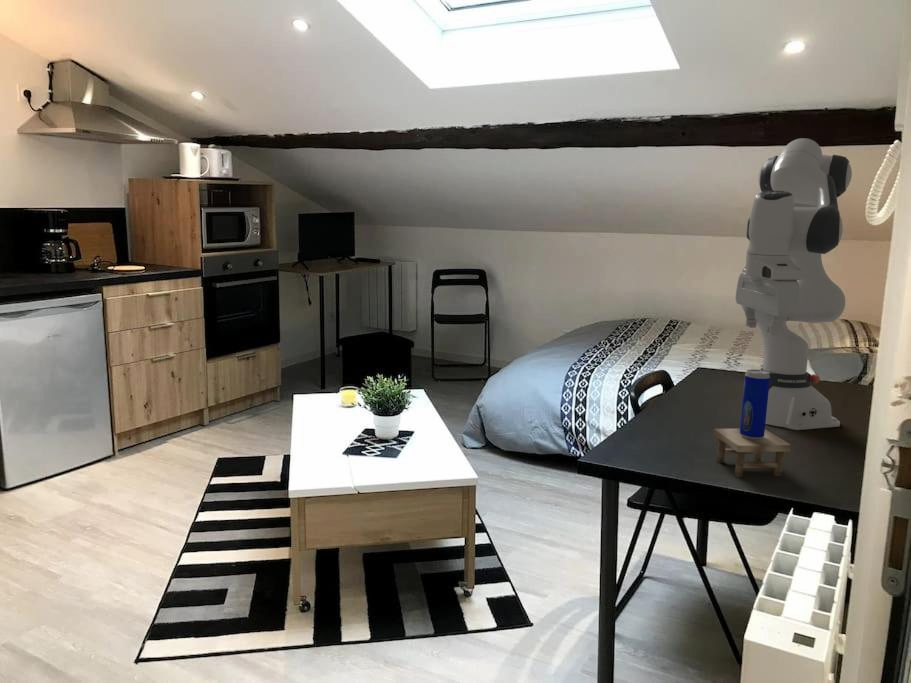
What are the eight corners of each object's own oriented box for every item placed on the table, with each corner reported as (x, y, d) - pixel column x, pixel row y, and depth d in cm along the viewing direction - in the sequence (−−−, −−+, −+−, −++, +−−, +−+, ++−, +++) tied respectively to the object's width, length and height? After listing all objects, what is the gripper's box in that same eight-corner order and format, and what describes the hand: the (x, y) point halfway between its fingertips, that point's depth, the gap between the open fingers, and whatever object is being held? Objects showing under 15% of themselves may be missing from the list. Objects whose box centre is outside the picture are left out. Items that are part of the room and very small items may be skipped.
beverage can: (735, 433, 168) (741, 369, 166) (757, 432, 169) (763, 368, 166) (746, 440, 163) (752, 374, 161) (768, 440, 164) (775, 374, 161)
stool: (760, 458, 174) (763, 428, 173) (787, 477, 162) (791, 444, 161) (711, 459, 173) (714, 428, 171) (735, 478, 161) (738, 445, 160)
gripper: (731, 263, 169) (726, 322, 171) (777, 272, 149) (771, 339, 151) (757, 263, 169) (752, 322, 172) (807, 272, 149) (800, 339, 152)
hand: (761, 330), depth 162 cm, fingers open, 8 cm apart
